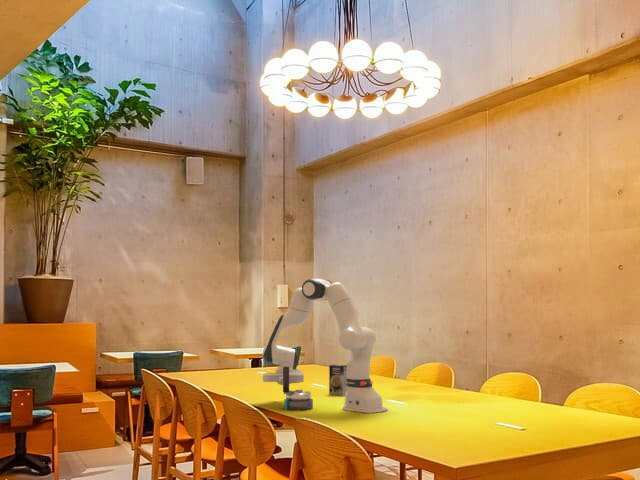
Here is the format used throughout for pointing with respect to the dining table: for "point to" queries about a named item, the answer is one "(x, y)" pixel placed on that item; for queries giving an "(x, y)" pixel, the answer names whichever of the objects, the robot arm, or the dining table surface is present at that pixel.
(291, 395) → the disc with upright handle
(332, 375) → the coffee box
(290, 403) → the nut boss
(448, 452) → the dining table surface
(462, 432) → the dining table surface
